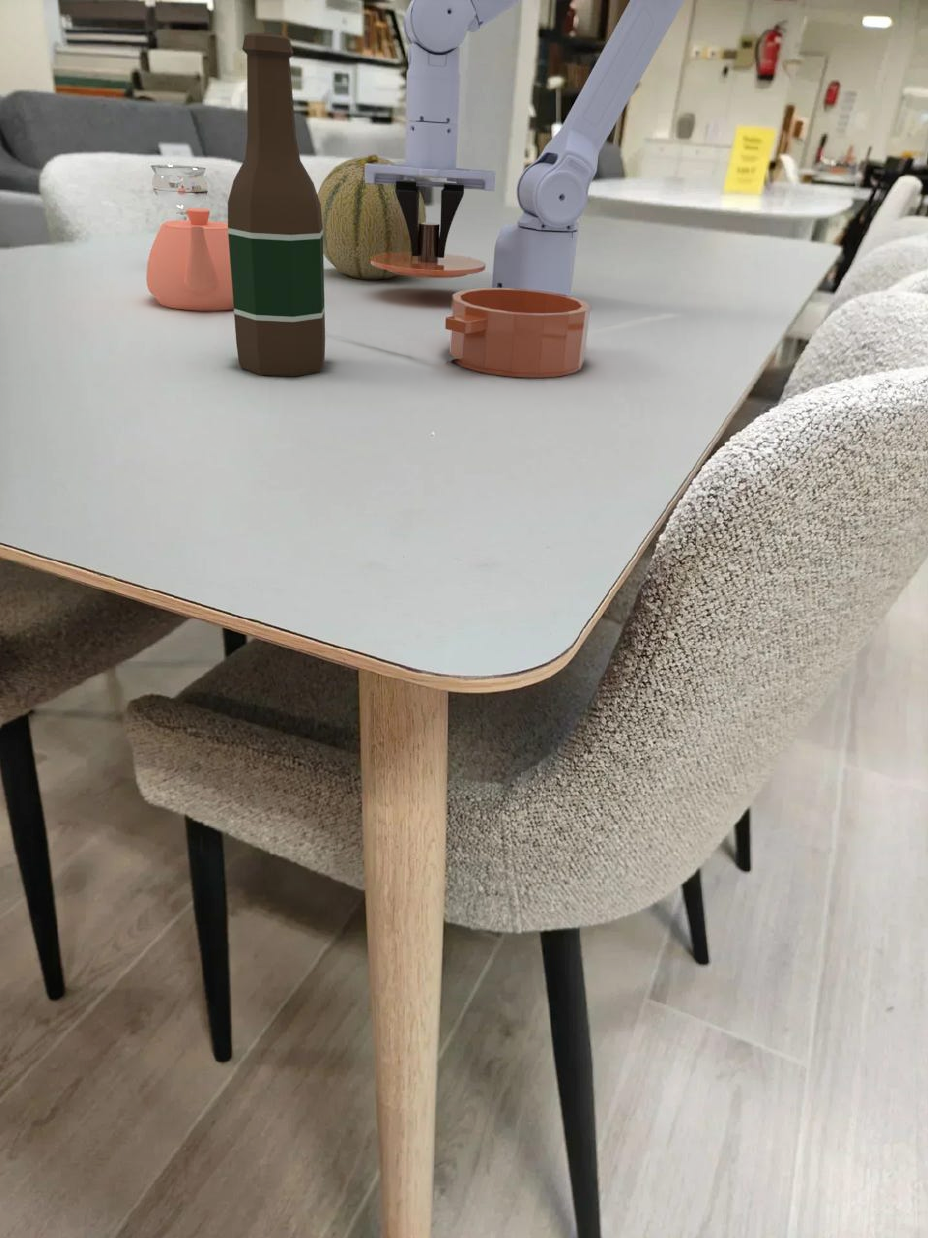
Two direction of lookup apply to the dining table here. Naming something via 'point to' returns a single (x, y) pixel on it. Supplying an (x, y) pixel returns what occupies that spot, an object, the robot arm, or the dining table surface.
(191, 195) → the wineglass
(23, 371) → the dining table surface
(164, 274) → the teapot
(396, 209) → the cantaloupe
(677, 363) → the dining table surface
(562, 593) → the dining table surface
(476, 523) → the dining table surface
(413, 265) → the pot lid
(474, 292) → the faceted orange tub
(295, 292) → the beer bottle
